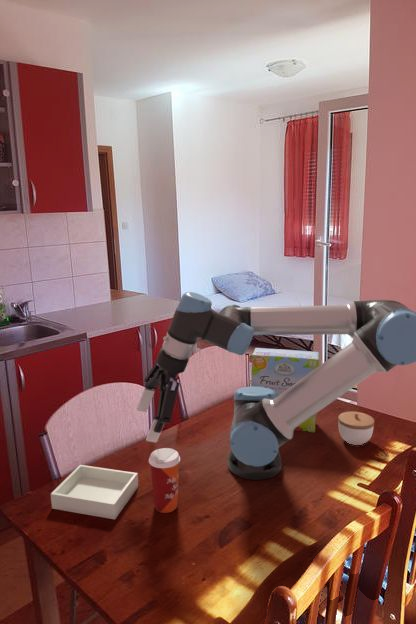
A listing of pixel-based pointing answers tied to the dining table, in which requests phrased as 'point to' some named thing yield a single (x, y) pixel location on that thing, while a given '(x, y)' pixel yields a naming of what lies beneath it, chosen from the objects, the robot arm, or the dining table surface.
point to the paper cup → (165, 478)
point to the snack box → (283, 372)
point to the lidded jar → (355, 427)
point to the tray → (95, 491)
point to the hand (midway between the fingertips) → (146, 425)
